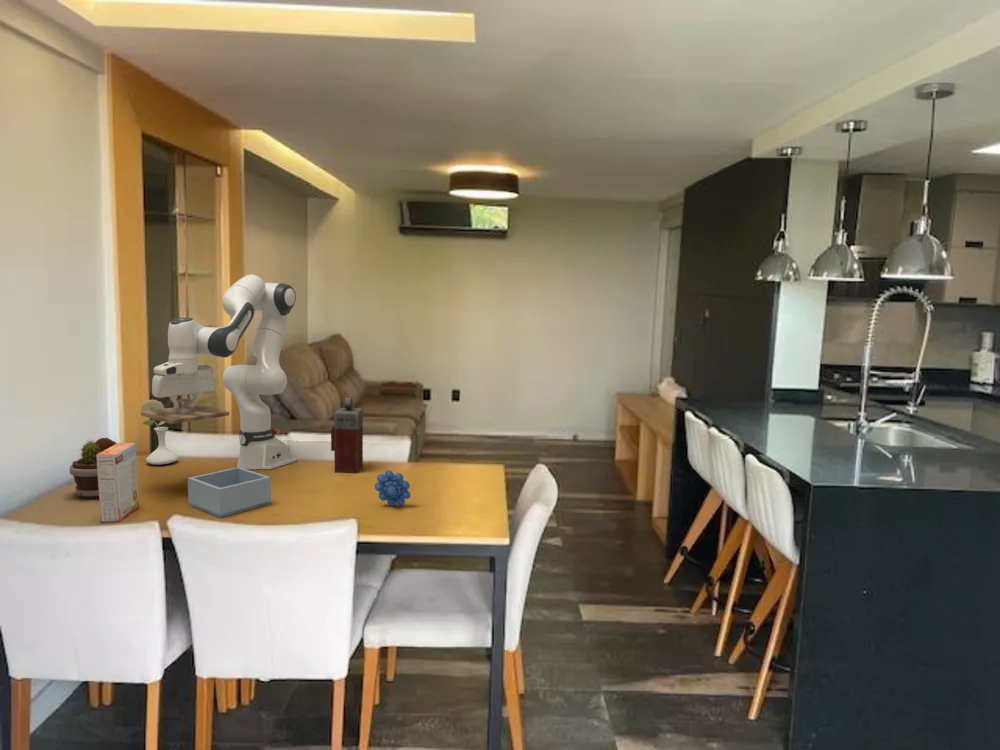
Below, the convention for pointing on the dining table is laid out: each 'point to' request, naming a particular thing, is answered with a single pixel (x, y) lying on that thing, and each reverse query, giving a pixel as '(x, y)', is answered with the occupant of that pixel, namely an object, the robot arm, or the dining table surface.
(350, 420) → the red grey canister
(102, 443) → the ice cream bowl
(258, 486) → the bin
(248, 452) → the robot arm
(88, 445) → the flowerpot
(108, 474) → the cracker box
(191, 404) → the lid
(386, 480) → the blue knobby flower shape
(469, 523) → the dining table surface
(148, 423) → the flower in vase
